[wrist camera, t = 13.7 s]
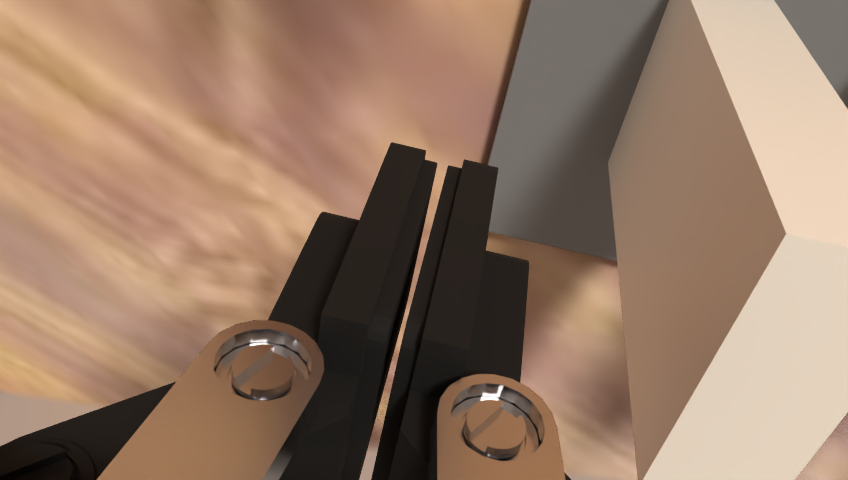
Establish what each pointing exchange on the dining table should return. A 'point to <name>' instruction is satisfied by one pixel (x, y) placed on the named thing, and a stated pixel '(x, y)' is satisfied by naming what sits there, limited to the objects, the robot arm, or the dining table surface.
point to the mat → (597, 110)
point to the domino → (732, 247)
